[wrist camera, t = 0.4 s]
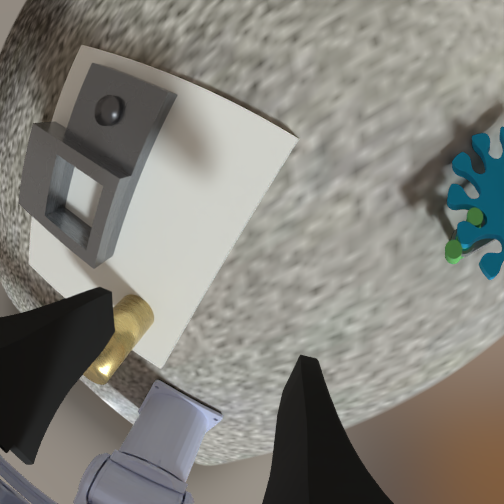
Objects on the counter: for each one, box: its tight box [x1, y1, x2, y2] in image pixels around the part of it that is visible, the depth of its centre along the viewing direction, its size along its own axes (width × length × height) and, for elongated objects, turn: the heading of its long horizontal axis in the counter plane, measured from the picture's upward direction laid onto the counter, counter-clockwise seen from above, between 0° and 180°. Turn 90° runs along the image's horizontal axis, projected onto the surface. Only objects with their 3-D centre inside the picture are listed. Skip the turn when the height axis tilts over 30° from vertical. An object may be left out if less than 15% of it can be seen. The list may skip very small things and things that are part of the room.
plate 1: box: [19, 121, 131, 269], centre depth 17 cm, size 7×10×2 cm
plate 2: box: [55, 63, 178, 262], centre depth 16 cm, size 12×7×2 cm, turn 150°
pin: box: [83, 294, 154, 385], centre depth 18 cm, size 3×3×7 cm
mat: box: [29, 45, 299, 369], centre depth 19 cm, size 22×18×1 cm
